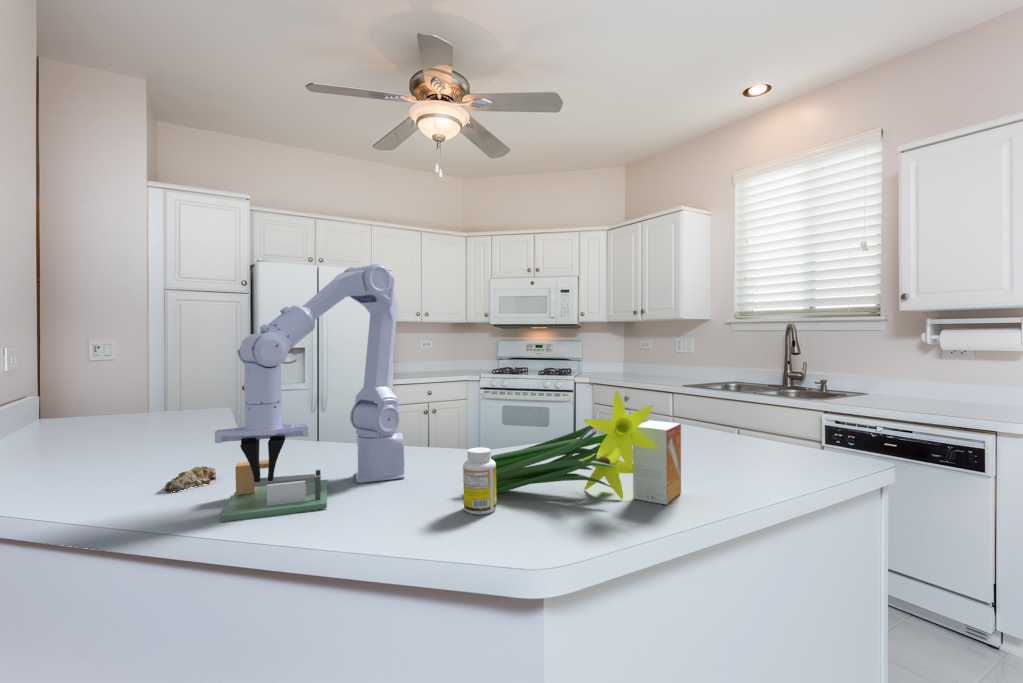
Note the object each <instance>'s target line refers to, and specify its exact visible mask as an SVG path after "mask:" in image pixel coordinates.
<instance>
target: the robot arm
mask: <svg viewBox="0 0 1023 683" xmlns="http://www.w3.org/2000/svg"><path fill="white" fill-rule="evenodd" d="M394 288H395V277H394V276H393V275H392V273H391V271H389V269H388V268H387V267H386V266H385V265H383V264H380V263H373V264H371V265H364V266H357V267H353V266H351V267H349V268H346V269H345V270H344V271H343V272H341V273H339V274H337V275H336V276H334V278H333V279H332V280H331V281H330V282H329V283H327V284H326V285H325V286H324V287H322V288H321V290H319V291H318V292H317V293H316V294H315V295H314V296H312V297H311V298H310V299H309V300H308V301H307V302H305V304H303V305H302V306H301V305H300V306H299V305H292V306H290V307H289V306H284V307H282V309H280V310H279V312H280V314H279V315H278V316H277V317H275V318H274V319H273V320H272V321H270V322H269V323H268V324H265V323H263V324H262V325H261V326H260V327H259V330H260V331H259V333H252V334H249V335H247V336H246V337H245V338H244V339H243V340H242V341H241V344H240V346H239V349H237V350H236V352H237V356H238V358H239V361H241V362H242V363H243V365H244V366H243V368H244V378H243V379H244V427H243V426H242V427H234V428H226V429H216V430H215V431H214V444H222V443H224V442H225V443H226V442H240V445H239V447H240V449H241V451H242V453H243V454H244V456H245V458H246V460H247V462H249V464H250V467H251V469H252V472H253V476H254V482H259V480H260V478H261V469H260V464H259V461H260V442H261V441H260V440H266V439H268V442H267V447H268V448H267V449H268V460H269V468H267V469H268V470H267V478H268V481H272V480H273V478H274V477H275V469H276V465H277V462H278V461H277V460H278V458H279V456H280V452H281V450H282V448H283V446H284V444H285V442H286V441H285V440H286V438H292V437H293V438H295V437H303V438H305V437H309V436H310V435H309V434H310V425H309V423H301V424H300V423H298V424H297V423H296V424H292V423H291V424H282V423H283V420H282V419H283V418H282V416H283V415H282V363H284V362H285V361H286V360H287V357H288V356H289V351H290V350H291V349H292V348H294V347H295V346H296V345H297V344H298V343H300V342H301V341H302V340H303V339H304V338H306V337H307V336H308V335H309V334H310V333H311V332H313V331H314V330H315V328H316V320H317V319H319V318H320V317H321V316H322V315H324V314H325V313H327V312H328V311H329V310H331V309H332V308H333V307H335V305H338V303H340V302H341V301H343V300H344V299H345V298H347V297H348V298H351V299H353V300H354V301H355V302H357V303H358V304H360V305H361V306H363V307H364V309H366V311H367V312H368V313H369V315H370V316H369V324H368V325H369V326H368V333H367V334H368V336H367V343H366V345H367V347H366V354H365V355H366V357H365V367H364V377H363V379H364V380H363V387H362V388H361V389H360V391H359V392H357V394H356V396H355V401H354V404H353V406H352V407H351V410H350V414H349V420H350V423H351V425H352V427H353V428H354V429H355V433H356V434H355V435H356V440H357V441H356V442H357V470H355V473H354V474H355V479H356V480H355V481H356V483H358V484H360V483H369V482H370V483H371V482H379V481H388V480H398V479H405V477H406V476H405V465H406V464H405V451H404V449H405V444H404V437H403V436H404V435H403V433H402V432H395V431H396V430H397V429H398V427H399V424H400V421H401V414H400V411H399V410H400V409H399V406H398V405H399V404H398V403H399V402H398V401H399V399H398V396H396V395H395V393H394V392H393V391H392V389H391V383H392V374H393V373H392V372H393V363H394V362H393V361H394V350H395V349H394V348H395V342H396V341H395V339H396V328H397V327H396V326H397V319H398V318H397V316H398V304H397V299H396V295H395V290H394Z"/></svg>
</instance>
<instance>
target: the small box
mask: <svg viewBox="0 0 1023 683" xmlns="http://www.w3.org/2000/svg"><path fill="white" fill-rule="evenodd" d="M635 430H638V431H639V432H640V433H642V434H643V435H645V436H646V437H648V438H649V439H650V440H651V441H653V442H654V443H655V444H656V445H657V446H658V447H659V448H657V449H648V448H642V447H639V446H636V445H633V444H632V449H633V473H632V474H633V475H632V498H633V499H635V500H639V501H644V502H649V503H655V504H661V505H668V504H669V503H670V502H671V501H673V500H674V499H675V498H676V497H678V496H679V495H681V494H682V424H681V423H678V422H669V421H660V420H651V419H650V420H647V421H643V422H642V423H641V424H640V425H639V426H638V427H637V428H636V429H635Z"/></svg>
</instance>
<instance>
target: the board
mask: <svg viewBox="0 0 1023 683" xmlns="http://www.w3.org/2000/svg"><path fill="white" fill-rule="evenodd" d="M317 473H319V474H320V476H316V474H317ZM321 473H322V472H321V469H316V470H315V482H311V483H305V481H296V482H287V483H277V484H267V486H260V487H257V489H256V491H255V493H251V494H242V495H236V491H235V492H234V493H233V495H232V497H231V498H230V500H229V501H228V503H227V505H226V506H225V508H224V509H223V511H222V512H221V514H220V517H219V518H220V523H223V522H232V521H241V520H248V519H257V518H264V517H273V516H281V515H283V516H284V515H291V514H298V513H297V512H299V513H304V512H303V511H307V512H312V511H311V510H315V511H319V510H318V509H324V510H326V509H325V508H328V489H327V488H328V486H329V485H328V484H329V483H328V481H329V480H328V479H321ZM295 475H296V474H295ZM295 475H293V476H295ZM303 475H307V473H305V474H303ZM290 513H291V514H290Z"/></svg>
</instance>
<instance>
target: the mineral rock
mask: <svg viewBox="0 0 1023 683" xmlns="http://www.w3.org/2000/svg"><path fill="white" fill-rule="evenodd" d="M216 473H217V471H216V468H215V467H211V466H209V467H208V466H201V467H200V466H195V467H193V468H192V469H190V470H187V471H186V470H185V471H182V472H180V473H178V476H175V477H174V478H172V479H171V480H170V481H168V482H166V484H165V485H164V491H165V492H166V491H169V492H173V491H180V490H184V489H188V488H190V487H195V486H199V485H203V484H209V483H210V482H211V481H213V480H215V481H216V479H217V476H216ZM209 485H210V484H209ZM199 487H200V486H199ZM195 488H196V487H195ZM169 492H168V493H169ZM180 492H181V491H180ZM173 493H174V492H173Z"/></svg>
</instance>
